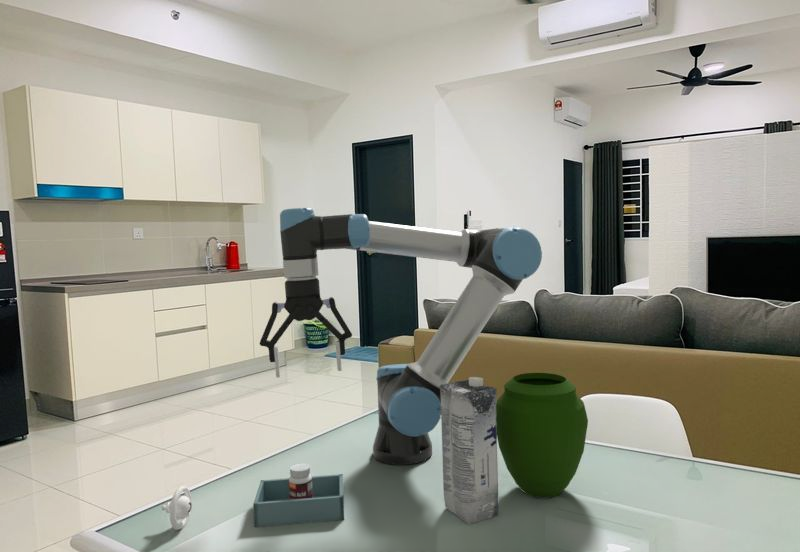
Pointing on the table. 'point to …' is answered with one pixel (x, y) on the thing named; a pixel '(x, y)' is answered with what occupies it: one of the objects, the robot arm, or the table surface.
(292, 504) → the bin
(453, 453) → the juice carton
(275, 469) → the table surface
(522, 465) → the vase
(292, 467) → the pill bottle
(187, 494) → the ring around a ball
